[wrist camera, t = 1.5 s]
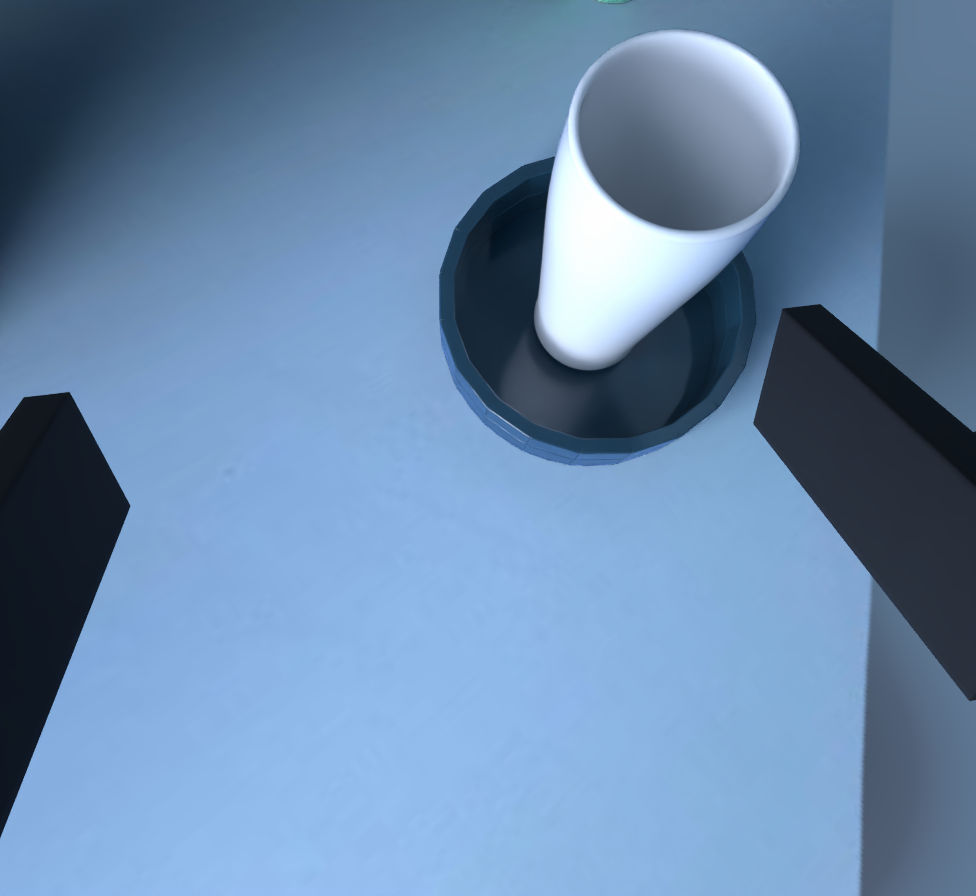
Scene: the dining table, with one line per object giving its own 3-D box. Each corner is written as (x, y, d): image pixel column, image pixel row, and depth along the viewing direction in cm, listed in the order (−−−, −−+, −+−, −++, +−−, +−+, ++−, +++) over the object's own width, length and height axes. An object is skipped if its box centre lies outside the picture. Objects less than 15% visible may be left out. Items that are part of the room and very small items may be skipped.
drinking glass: (642, 254, 34) (782, 17, 19) (661, 382, 33) (826, 232, 18) (510, 265, 34) (552, 29, 19) (525, 394, 32) (582, 251, 18)
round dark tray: (384, 294, 33) (375, 262, 30) (605, 145, 35) (622, 98, 32) (559, 525, 32) (572, 520, 28) (781, 355, 34) (819, 330, 30)
